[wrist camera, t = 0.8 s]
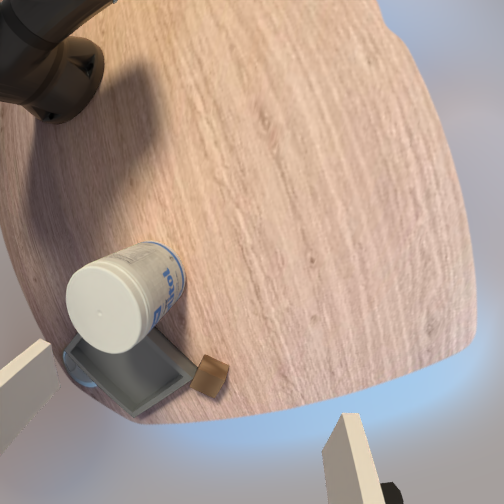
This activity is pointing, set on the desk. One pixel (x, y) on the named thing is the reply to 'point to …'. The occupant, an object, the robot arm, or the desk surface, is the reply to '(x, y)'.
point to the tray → (135, 370)
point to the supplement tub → (124, 295)
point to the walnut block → (209, 376)
